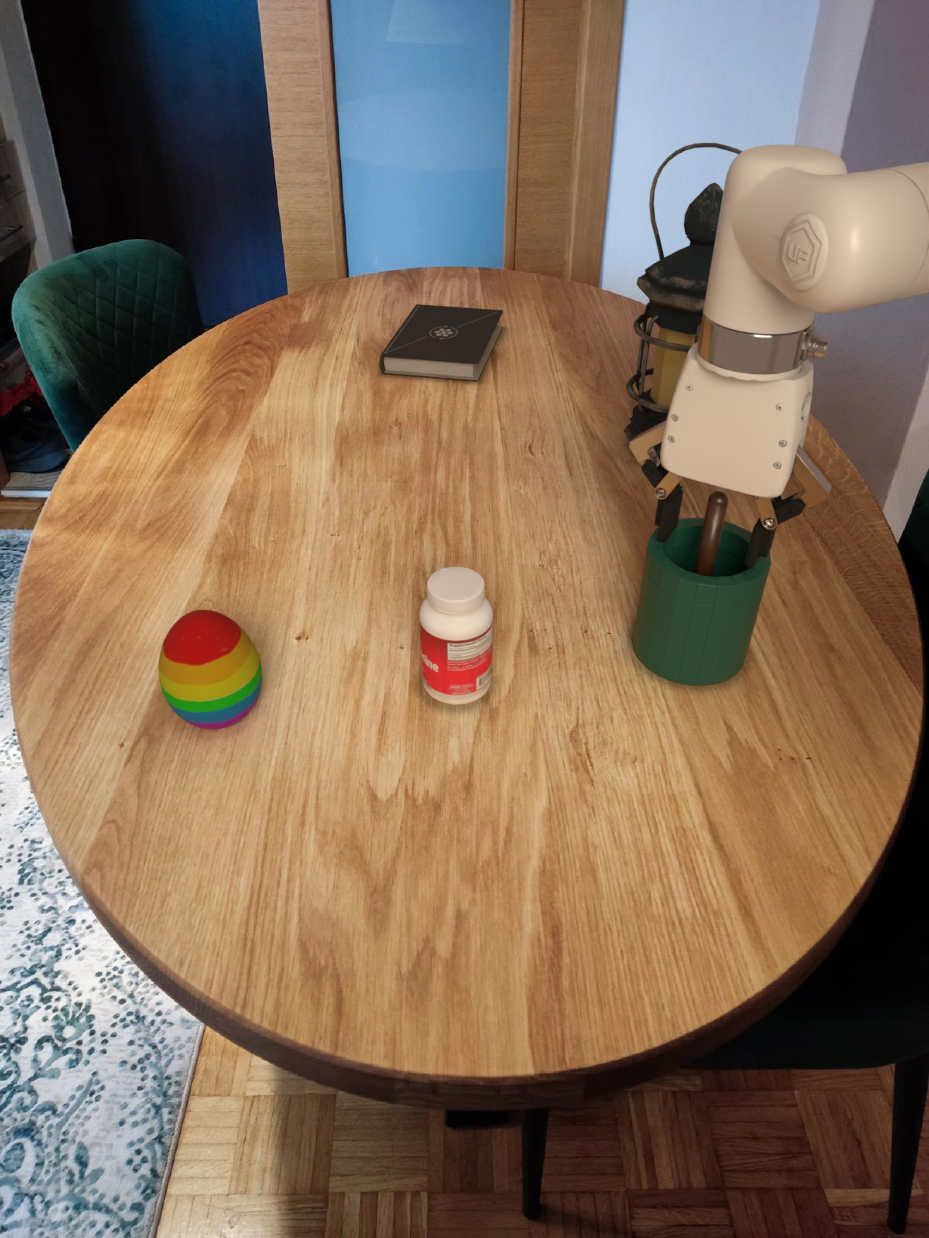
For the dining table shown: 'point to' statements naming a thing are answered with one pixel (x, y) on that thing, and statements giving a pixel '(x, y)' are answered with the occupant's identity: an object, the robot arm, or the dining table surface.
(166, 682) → the decorative egg
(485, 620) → the pill bottle
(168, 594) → the dining table surface
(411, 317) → the book
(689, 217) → the lantern
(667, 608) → the jar
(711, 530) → the brown pestle
